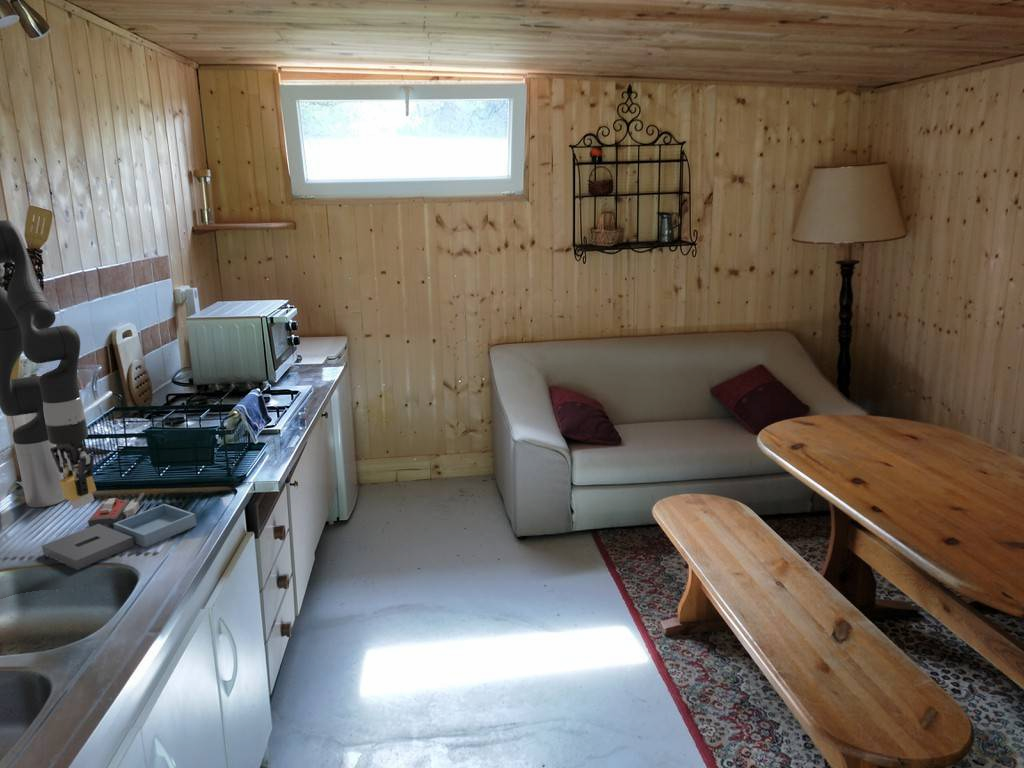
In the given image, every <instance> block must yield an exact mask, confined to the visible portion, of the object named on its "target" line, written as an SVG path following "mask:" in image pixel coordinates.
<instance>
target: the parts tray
mask: <svg viewBox="0 0 1024 768" xmlns="http://www.w3.org/2000/svg"><path fill="white" fill-rule="evenodd" d="M113 525H114V528H113V530H116V531H118V532H121V533H124V534H126V535H129V536H131V537H133V542H134V544H136V545H138V546H141V547H143V548H148V547H150V546H152V545H154V544H158V543H160V542H162V541H164V540H168V539H169V538H170V537H173V536H175V535H178V534H180V533H182V532H185V531H187V530H190V529H192V528H194V527H197V520H196V514H195V513H193V512H190V511H187V510H184V509H181V508H179V507H175V506H172V505H169V504H166V503H162V504H159V505H158V506H155V507H152V508H150V509H147V510H144V511H142V512H140V513H137V514H135V515H134V516H131V517H129V518H126V519H123V520H121V521H119V522H116V523H114V524H113Z"/></svg>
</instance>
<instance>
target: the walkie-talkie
mask: <svg viewBox="0 0 1024 768" xmlns="http://www.w3.org/2000/svg"><path fill="white" fill-rule="evenodd" d="M145 495H146V493H145V492H144V491H143V492H141V493H140V494H139V496H138V497H137V498H136V500H135V501H132V502H130V501H129V500H128V499H121V500H120V499H119V498H118V497H113V498H107V500H106V501H105V502H103V503H101V505H100V506H99V507H98V508H97V509H96V511H95V512H94V513H93V514H92V515H91V517H90V518H89V519H88V521H87V523H88V528H89V527H91V526H94V525H97V524H100V525H103V526H106V527H108V528H111V529H114V525H113V524H114V523H116V522H119V521H121V520H124V519H126V518H129V517H132V516H134V515H136V513H137V512H138V511H139V510H140V503H141V501H142V500H143V498H144V497H145Z"/></svg>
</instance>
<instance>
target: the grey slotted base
mask: <svg viewBox="0 0 1024 768" xmlns="http://www.w3.org/2000/svg"><path fill="white" fill-rule="evenodd" d="M133 547H135V543H134V542H133V537H131V536H129V535H126V534H124V533H121V532H118V531H116V530H114V528H112V529H111V528H108V527H106V526H103V525H100V524H97V525H94V526H91V527H89V526H88V527H86V528H84V529H81V530H79V531H76V532H73V533H71V534H69V535H66V536H63V537H61V538H58V539H55V540H53V541H51V542H48V543H46V544H43V545H41V549H42V553H43V555H44V554H46V555H48V556H50V557H52V558H55V559H57V560H59V561H62V562H64V563H65V564H66V565H65V564H64V565H65V566H67V567H69V568H72V569H74V570H76V571H79V570H81V569H84V568H85V567H88V566H90V565H93V564H94V562H95V563H97V562H96V561H98V560H100V561H102V560H105V559H107V558H109V557H111V556H115V554H116V555H117V554H119V553H121V552H123V551H126V550H128V549H130V548H133ZM46 555H45V556H46ZM48 556H47V557H48ZM50 557H49V558H50ZM52 558H51V559H52ZM101 559H102V560H101ZM59 561H58V562H59ZM98 562H99V561H98ZM92 563H93V564H92Z"/></svg>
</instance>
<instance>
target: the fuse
mask: <svg viewBox="0 0 1024 768" xmlns="http://www.w3.org/2000/svg"><path fill="white" fill-rule="evenodd" d="M93 477H94V476H93V475H92V476H90V477H87V478H86V480H87V486H88V491H89V492H88V494H86V495H83V496H78V495H77V490H76V484H75V479H74V476H73V475H71V476H68V477H64V479H62V480H59V482H60V486H61V489H62V492H63V495H64V498H65V500H67V501H69V502H70V504H71V506H72V509H73V510H77V509H79V508H81V507H84V506H86V505H88V504H90V503H93V502H95V498H94V495H93V493H94V492H96V491H97V487H96V484H95V481H94V478H93Z"/></svg>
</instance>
